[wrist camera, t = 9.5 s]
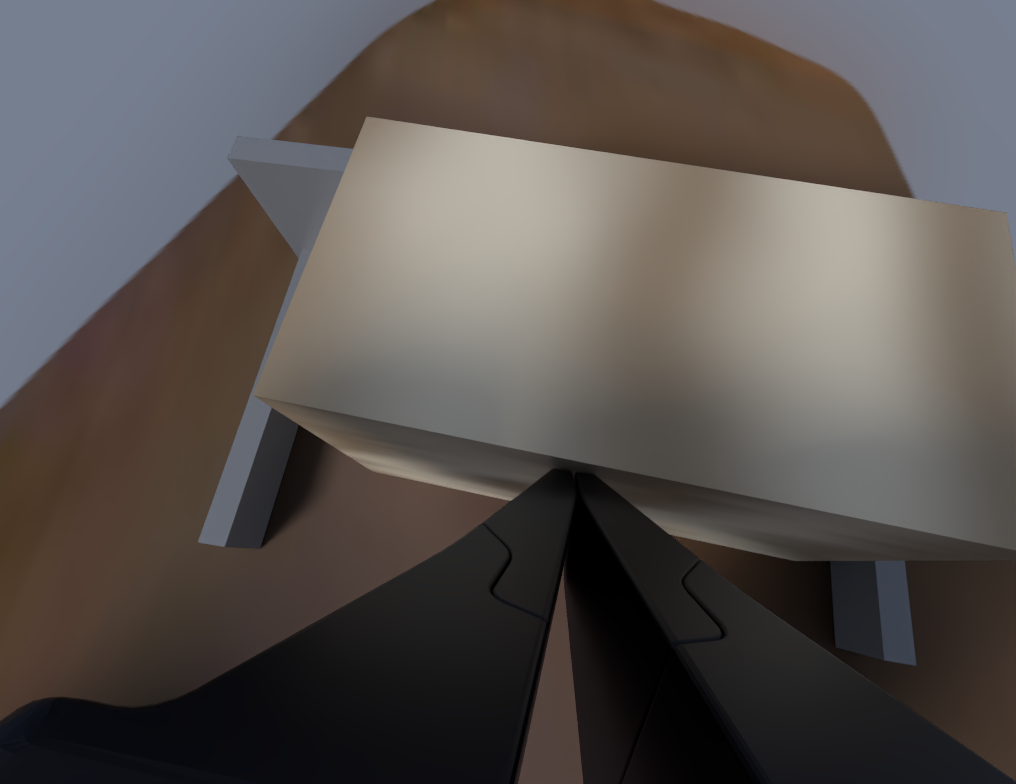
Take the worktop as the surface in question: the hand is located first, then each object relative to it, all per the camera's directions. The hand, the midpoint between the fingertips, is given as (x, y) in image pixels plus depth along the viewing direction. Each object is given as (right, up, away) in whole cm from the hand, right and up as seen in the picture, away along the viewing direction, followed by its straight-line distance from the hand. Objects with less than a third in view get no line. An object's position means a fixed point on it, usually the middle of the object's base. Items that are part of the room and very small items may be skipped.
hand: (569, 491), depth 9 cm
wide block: (+2, +1, +8) cm, 8 cm away
